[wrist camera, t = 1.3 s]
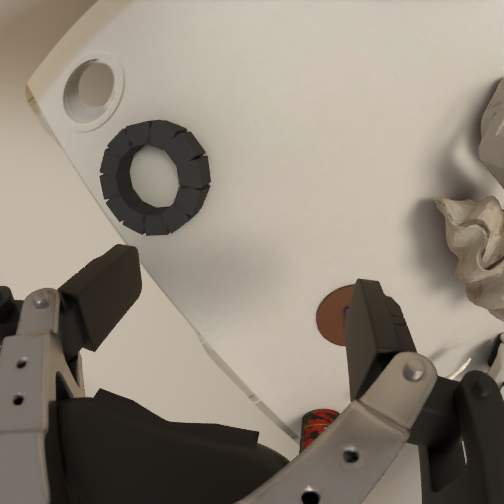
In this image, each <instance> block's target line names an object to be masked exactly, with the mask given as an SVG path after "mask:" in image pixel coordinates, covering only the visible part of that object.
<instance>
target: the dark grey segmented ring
mask: <svg viewBox="0 0 504 504" xmlns="http://www.w3.org/2000/svg"><path fill="white" fill-rule="evenodd" d="M186 130H187V129H186V128H184V127H181V126H179V125H176V124H173V123H171V122H168V121H166V120H165V121H161V120H154V121H146V122H142V123H138V124H134V125H130V126H126V128H125V129H122V130H121V131H120V132H119V133H118V134H117V135H116V136H115V137H114V139H113V140H112V141H111V142H110V143H109V144H108V145H107V146H108V149H105V152H104V156H103V160H102V164H101V168H100V172H101V173H103V175H101V176H100V182H101V187H102V191H103V196H104V199H109V200H108V201H107V202H106V204H107V205H108V207H109V208H110V210H111V211H112V212H113V214H114V215H115V216H116V218H117V219H118V221H119V222H121V221H122V220H124V221H123V225H124V226H126V227H128V228H130V229H132V230H134V231H136V232H138V233H140V234H142V235H143V234H144V233H146V236H150V235H168V234H169V233H170V232H171V233H173V232H174V231H176V230H177V229H178V228H180V227H181V226H182V225H184V224H185V223H186V222H188V221H189V220H190V219H191V218H192V217H193V216H195V215H196V214H197V213H198V212H199V210H200V209H201V208H202V205H203V203H204V200H205V198H206V195H207V193H208V190H209V188H210V185H207V184H208V183H210V182H211V179H210V171H209V164H208V156H202V157H200V156H201V155H203V154H204V153H205V150H204V149H203V148H202V146H201V145H200V144H199V142H198V141H197V140H196V138H195V137H194V136H193V134H192V133H191V132H186ZM145 144H151V145H153V146H155V147H158V148H160V149H163V150H165V151H166V152H167V154H168V155H169V156H170V158H171V159H172V160H173V162H174V163H175V164H176V166H177V172H178V178H179V184H180V187H179V190H178V193H177V195H176V198H175V201H174V204H173V205H171V206H170V207H160V208H155V207H153V206H151V205H149V204H147V203H145V202H143V201H142V200H141V199H140V198H139V196H138V195H137V193H136V192H135V191H134V189H133V188H132V184H131V178H130V173H129V170H130V166H131V163H132V159H133V156H134V154H135V153H136V152H137V151H139V150H140V149H141V148H142V147H143V146H144V145H145Z"/></svg>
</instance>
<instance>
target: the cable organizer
mask: <svg viewBox="0 0 504 504" xmlns="http://www.w3.org/2000/svg"><path fill="white" fill-rule="evenodd" d="M503 126H504V78H503V79H502V80H501V81H500V83H499V85H498V87H497V89H496V91H495V93H494V95H493V97H492V99H491V100H490V102H489V104H488V106H487V108H486V110H485V112H484V114H483V116H482V120H481V137H482V140H481V143H480V146H479V159H480V161H481V162H482V163H483V164H484V165H485V166H486V168H487V169H488V170H489V171H490V172H491V174H492V175H493V176H494V177H495V178H496V180H497V181H498V182H499V183H500V185H501V186H502V187H503V188H504V137H502V136H499V133H500V131H501V129H502V128H503Z"/></svg>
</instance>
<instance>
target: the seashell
mask: <svg viewBox="0 0 504 504" xmlns="http://www.w3.org/2000/svg"><path fill="white" fill-rule="evenodd" d="M433 201H434V202H436V206H437V209H439V210H440V212H441V213H442V214H444V216H445V225H446V234H445V235H446V239H447V244H448V246H449V248H450V250H451V251H452V252H453V253H454V254H455V255H456V256H457V257H458V259H459V262H458V265H457V266H456V268H455V271H454V276H455V277H456V279H458V280H459V281H462V282H467V283H466V293H467V297H468V299H469V301H471V302H473V303H474V304H475V305H477V306H481V307H483V308H485V309H488V311H489V312H490V314H492V315H494V316H495V317H496V318H498V319H500V320H502V321H504V210H502V209H501V206H500V203H499V201H498V200H497V199H496V198H495V197H494V196H489V197H486V198H485V199H484V200H482V201H481V202H474V201H471V200H469V199H468V200H462V201H452V200H450V199H448V198H443V197H438V198H434V200H433Z"/></svg>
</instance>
